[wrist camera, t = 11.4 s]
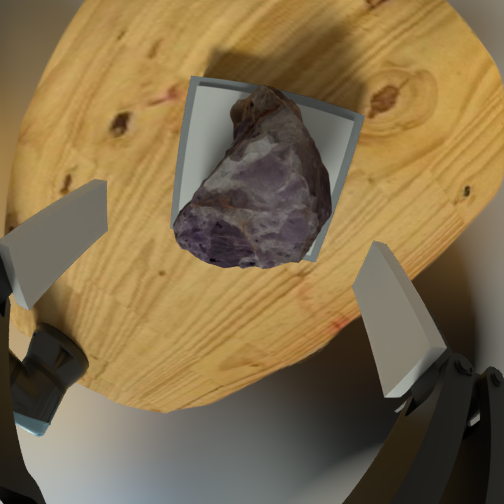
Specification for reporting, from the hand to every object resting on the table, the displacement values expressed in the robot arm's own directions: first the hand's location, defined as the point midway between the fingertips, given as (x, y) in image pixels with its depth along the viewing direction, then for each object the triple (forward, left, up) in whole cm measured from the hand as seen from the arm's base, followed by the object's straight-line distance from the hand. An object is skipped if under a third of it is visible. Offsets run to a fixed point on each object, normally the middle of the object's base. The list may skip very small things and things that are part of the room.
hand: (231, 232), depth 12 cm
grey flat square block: (0, 0, -14) cm, 14 cm away
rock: (+1, 0, -11) cm, 11 cm away
